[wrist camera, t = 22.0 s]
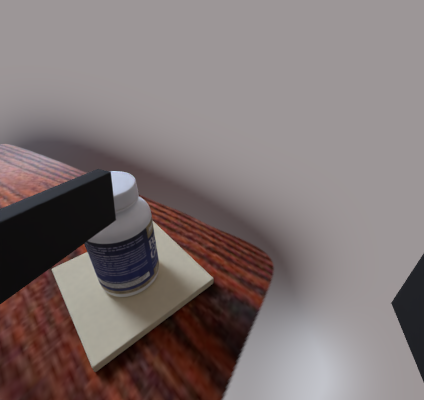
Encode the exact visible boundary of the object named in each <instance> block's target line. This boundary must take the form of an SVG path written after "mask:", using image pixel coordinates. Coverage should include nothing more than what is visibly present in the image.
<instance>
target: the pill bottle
mask: <svg viewBox="0 0 424 400" xmlns="http://www.w3.org/2000/svg"><path fill="white" fill-rule="evenodd" d="M111 178H112V187H113V196H114V205H115V215H116V221H114V222H113V223H111V224H110V225H109V226H107V227H106V228H105V229H103V230H102V231H100V232H99V233H98V234H96V235H95V236H94V237H92V238H91V239H89V240H88V241H87V242H85V243H84V244H85V247H86V249H87V252H88V255H89V257H90V260H91V262H92V265H93V267H94V270H95V273H96V275H97V278H98V280H99V283H100V285H101V287H102V288H103V289H104V290H105V291H106V292H107V293H108V294H110V295H113V296H117V297H128V296H132V295H135V294H138V293H140V292H142V291H143V290H145V289H146V288H148V287H149V286H150V285H151V284H152V283H153V282H154V280H155V279H156V277H157V275H158V272H159V259H158V253H157V246H156V240H155V233H154V228H153V221H152V215H151V211H150V207H149V205H148V204H147V202H146V201H145V200H143V199H142V198H141V197H139V195H138V188H137V184H136V180H135V178H134V176H132V175H131V174H128V173H125V172H118V171H117V172H116V171H114V172H111Z"/></svg>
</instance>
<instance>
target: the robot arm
mask: <svg viewBox="0 0 424 400" xmlns="http://www.w3.org/2000/svg"><path fill="white" fill-rule="evenodd" d="M114 221H116V215H115V205H114V196H113V187H112V178H111V172H108V171H104V170H100V169H97V170H94V171H92V172H89V173H87V174H84V175H82V176H80V177H77V178H75V179H72V180H70V181H67V182H65V183H63V184H60V185H58V186H55V187H53V188H50V189H48V190H45V191H43V192H41V193H38V194H36V195H33V196H31V197H28V198H26V199H24V200H21V201H19V202H16V203H14V204H11V205H9V206H6V207H4V208H2V209H0V304H1V303H3V302H4V301H5V300H7V299H8V298H9V297H11V296H12V295H14V294H15V293H16V292H18V291H19V290H20V289H22V288H23V287H25V286H26V285H27V284H29V283H30V282H32V281H33V280H34V279H36V278H37V277H38V276H40V275H41V274H43V273H44V272H45V271H47V270H48V269H49V268H51V267H52V266H54V265H55V264H56V263H58V262H59V261H60V260H62V259H63V258H65V257H66V256H67V255H69V254H70V253H71V252H73V251H74V250H76V249H77V248H78V247H80V246H81V245H83V244H84V243H85V242H87V241H88V240H89V239H91V238H92V237H94V236H95V235H96V234H98V233H99V232H100V231H102V230H103V229H105V228H106V227H107V226H109V225H110V224H111V223H113V222H114ZM392 306H393V308H394V311H395V313H396V315H397V318H398V320H399V323H400V325H401V328H402V330H403V333H404V335H405V338H406V340H407V342H408V345H409V347H410V350H411V352H412V354H413V357H414V359H415V362H416V364H417V367H418V369H419V372H420V374H421V377H422V379H423V381H424V254H423V255H422V257H421V259H420V260H419V262H418V263H417V265H416V266H415V268H414V269H413V271H412V272H411V274H410V275H409V277H408V278H407V280H406V282H405V283H404V284H403V286H402V288H401V289H400V290H399V292H398V294H397V295H396V297H395V298H394V300H393V301H392Z"/></svg>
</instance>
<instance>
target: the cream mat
mask: <svg viewBox="0 0 424 400" xmlns="http://www.w3.org/2000/svg"><path fill="white" fill-rule="evenodd" d="M153 228H154V233H155V240H156V246H157V253H158V259H159V272H158V275H157V277H156V279H155V280H154V282H153V283H152V284H151V285H150V286H149V287H148V288H146V289H145V290H143V291H142V292H140V293H138V294H135V295H132V296H128V297H117V296H113V295H110V294H108V293H107V292H106V291H105V290H104V289H103V288H102V287H101V285H100V283H99V280H98V278H97V275H96V273H95V270H94V267H93V265H92V262H91V260H90V257H89V255H88V252H87V253H85V254H82V255H80V256H78V257H76V258H74V259H72V260H70V261H68V262H65V263H63V264H61V265H59V266H57V267H55V268H53V269H52V272H53V274H54V277H55V279H56V282H57V284H58V286H59V289H60V291H61V294H62V296H63V299H64V301H65V303H66V306H67V308H68V311H69V313H70V316H71V318H72V320H73V323H74V325H75V328H76V330H77V333H78V335H79V337H80V340H81V342H82V345H83V347H84V349H85V352H86V354H87V357H88V359H89V362H90V364H91V366H92V368H93V370H94V372H97V371H98V370H99V369H101V368H102V367H103V366H105V365H106V364H107V363H109V362H110V361H111V360H113V359H114V358H115V357H116V356H118V355H119V354H120V353H122V352H123V351H124V350H126V349H127V348H128V347H130V346H131V345H132V344H134V343H135V342H136V341H138V340H139V339H140V338H142V337H143V336H144V335H146V334H147V333H148V332H150V331H151V330H152V329H154V328H155V327H156V326H158V325H159V324H160V323H162V322H163V321H164V320H165V319H167V318H168V317H169V316H171V315H172V314H173V313H175V312H176V311H177V310H179V309H180V308H181V307H183V306H184V305H185V304H187V303H188V302H189V301H191V300H192V299H193V298H195V297H196V296H197V295H199V294H200V293H201V292H203V291H204V290H205V289H207V288H208V287H209V286H211V285H212V284H213V277H212V276H210V275H209V274H208V273H207V272H206V271H205V270H204V269H203V268H202V267H201V266H200V265H199V264H198V263H197V262H196V261H195V260H194V259H192V258H191V257H190V256H189V255H188V254H187V253H186V252H185V251H184V250H183V249H182V248H181V247H180V246H179V245H178V244H177V243H176V242H174V241H173V240H172V239H171V238H170V237H169V236H168V235H167V234H166V233H165V232H164V231H163V230H162V229H161V228H160V227H159V226H158V225H156V224H155V223H154V222H153Z"/></svg>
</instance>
